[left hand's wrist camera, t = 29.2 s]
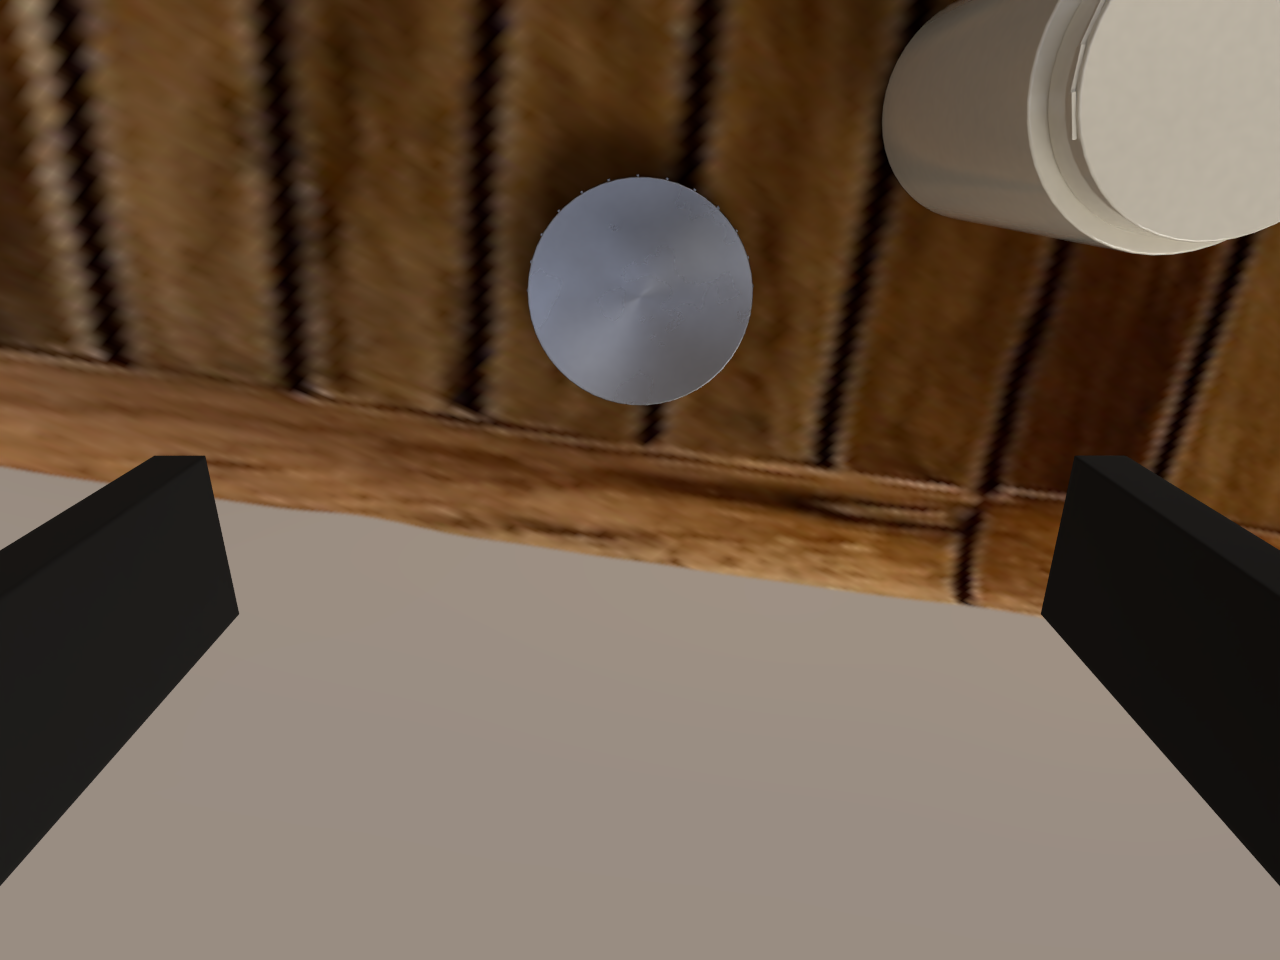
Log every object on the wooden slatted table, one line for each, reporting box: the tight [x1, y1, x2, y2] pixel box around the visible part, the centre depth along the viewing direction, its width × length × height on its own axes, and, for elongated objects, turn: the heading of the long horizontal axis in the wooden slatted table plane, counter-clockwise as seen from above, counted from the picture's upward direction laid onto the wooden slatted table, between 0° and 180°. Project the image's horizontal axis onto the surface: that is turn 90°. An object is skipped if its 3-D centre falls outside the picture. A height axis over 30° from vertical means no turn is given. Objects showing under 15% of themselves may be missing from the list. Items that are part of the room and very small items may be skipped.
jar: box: [882, 0, 1280, 255], centre depth 27 cm, size 9×9×16 cm
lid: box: [527, 174, 753, 405], centre depth 36 cm, size 10×10×2 cm
